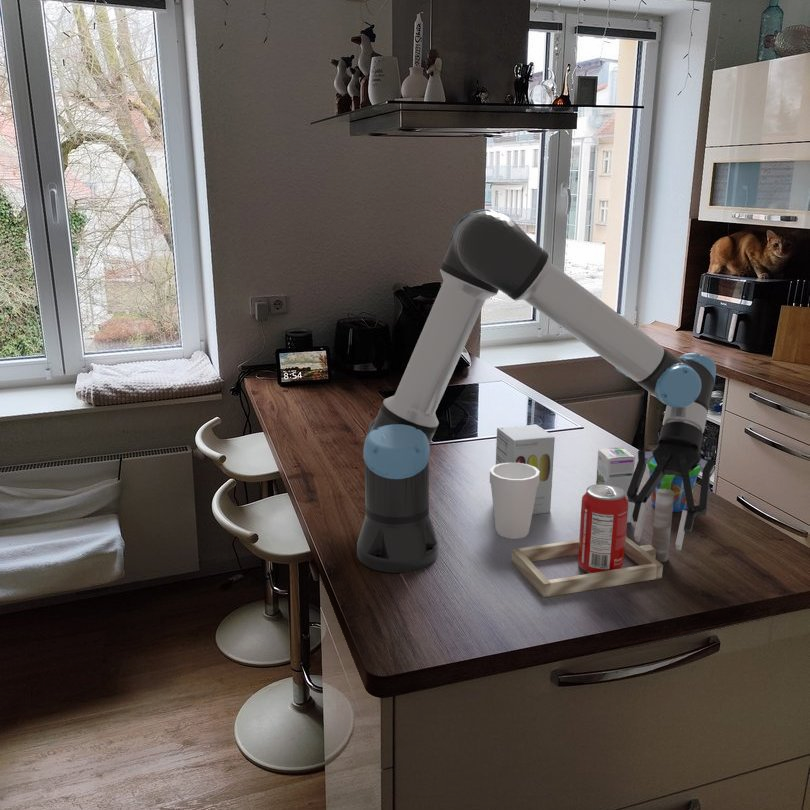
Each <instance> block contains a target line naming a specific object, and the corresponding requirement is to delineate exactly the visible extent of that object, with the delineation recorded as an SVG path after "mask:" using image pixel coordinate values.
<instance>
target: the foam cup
mask: <svg viewBox="0 0 810 810" xmlns="http://www.w3.org/2000/svg"><path fill="white" fill-rule="evenodd" d="M539 473H540V471H539V470H538V469H537V468H536V467H534V466H531V465H528V464H523V463H501V464H497V465H496V464H495V465H493V466H491V468H490V469H489V483H490V488H491V498H492V504H493V505H492V507H493V515H494V517H493V518H494V523H495V530H496V531H495V532H496V533H497V534H498V536H501V537H503V538H504V539H505V538H506V539H512V540H513V539H514V540H515V539H516V540H517V539H523V538H525V537H526V536H528V535H529V533H530V529H531V528H530V527H531V522H532V517H533V515H532V513H533V507H534V502H535V496H536V491H537V487H538V485H539Z"/></svg>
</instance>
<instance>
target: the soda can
mask: <svg viewBox="0 0 810 810" xmlns="http://www.w3.org/2000/svg"><path fill="white" fill-rule="evenodd" d="M580 508H581V509H580V523H579V537H578V538H579V539H578V540H579V553H578V555H577V556H578V557H577V564H578V566H579V568H580V569H582V570H583V571H584V572H586V573H587V574H590V573H596V572H602V571H609V570H615V569H621V568H624V563H625V540H626V536H627V528H628V527H627V525H628V523H627V516H628V500H627V498H626V497H625V492H624V490H622V489H621V488H619V487H616V486H612V485H606V484H597V485H596V484H592V485H590V486H588V487H587V488H586V492H585V493H584V494H583V495H582V497H581V504H580Z"/></svg>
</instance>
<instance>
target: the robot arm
mask: <svg viewBox="0 0 810 810" xmlns="http://www.w3.org/2000/svg"><path fill="white" fill-rule="evenodd" d="M450 237H451V238H450V244H449V246H448V249H447V251H446V254H445V255H444V259H443V261H442V264H441V266H440V268H439V272H440V275H441V277H442V281H443V282H442V283H441V287H440V288H439V291H438V293H437V296H436V298H435V301H434V302H433V304H432V307H431V310H430V311H429V314H428V316H427V318H426V321H425V323H424V326H423V328H422V331H421V332H420V335H419V338H418V339H417V342H416V344H415V347H414V349H413V351H412V353H411V356H410V358H409V361H408V363H407V366H406V368H405V370H404V373H403V375H402V377H401V380H400V382H399V384H398V386H397V389H396V391H395V393H394V395H392V396H389V397H387V398H384V399H383V401H382V404H381V406H380V409H379V411H378V414H377V415H376V417H375V418H374V419H373V421H372V422H371V423H370V424H369V428H368V429H367V434H366V437H365V440H364V444H363V445H364V446H363V450H362V456H363V461H364V462H363V463H364V501H365V503H364V504H365V516H364V520H363V523H362V526H361V529H360V532H359V535H358V539H357V542H356V556H357V559H358V561H359V562H360V563H361V564H362V565H364V566H365V567H366V568H368V569H372V570H374V571H378V572H383V573H391V574H401V573H409V572H413V571H419V570H421V569H424V568H427V567H429V566H430V565H432V564H434V562H435V561H436V560H437V559H438V557H439V541H438V537H437V534H436V532H435V528H434V526H433V522H432V520H431V517H430V458H431V448H430V444H431V442H432V440H433V437H434V435H435V433H436V431H437V428H438V426H439V424H440V422H439V420H438V418H437V415H436V411H437V409H438V407H439V404H440V402H441V400H442V398H443V397H444V394H445V391H446V389H447V387H448V384H449V382H450V380H451V378H452V377H453V374H454V371H455V369H456V366H457V365H458V362H459V361H460V358H461V356H462V353H463V352H464V349H465V346H466V345H467V342H468V341H469V338H470V335H471V333H472V331H473V328H474V326H475V324H476V323H477V319H478V317H479V316H480V313H481V311H482V308H483V306H484V304H485V302H486V300H488V299H490V298H492V297H495V296H496V295H498V293H499V291H501V292H502V293H503V294H505V295H506V296H507V297H509V298H510V299H512V300H513V301H521V300H522V301H525V302H526V303H528V304H529V305H530V306H532V307H533V308H535V310H537V311H538V312H540V313H541V314H542V315H544V316H546V318H548V319H549V320H551V321H552V322H553V323H555V324H557V326H559V327H561V328H562V329H563V330H564V331H566V333H569V334H570V335H571V336H573V337H574V338H575V339H577V340H578V341H580V342H581V343H582V344H584V345H585V346H586V347H588V348H589V349H590V350H592V351H593V352H594V353H596V354H597V355H599V356H600V357H601V358H602V359H604V360H605V361H606V362H608V363H609V364H611V365H612V366H613V367H615V370H616V371H617V372H619V373H621V374H623V375H624V376H625V377H627V378H630V379H632V380H633V381H634V382H635V383H636V384H638V386H641V387H642V388H643V389H644V390H646V391H647V392H648V393H650V394H652V395H653V396H654V397H656V399H657V400H658V401H659V402H661V403H662V404H664V405H666V406H665V411H664V415H663V421H662V426H661V427H660V433H659V437H658V441H657V443H656V444H657V445H656V447H655V448H654V449H653V450H651V451H645V450H644V449H639V450H638V451H637V457H638V458H637V463H636V466H635V468H634V474H633V477H632V480H631V483H630V485H629V488H628V491H627V497H628V500H629V501H630V502H632V504H634V507H633V512H632V514H631V518H632V520H633V522H635V523H636V524H635V528H634V532H633V538H634V541H635V542H638V543H640V542H641V539H642V538H641V537H642V533H643V529H644V524H645V520H646V516H647V512H648V507H647V502H648V500H649V498H650V497H651V494H652V492H653V491H654V489H655V488H656V486H657V485H658V483H659V482H660V480H661V479H663V477H664V476H665V475H675V476H677V477H682V479H683V485H684V491H685V497H686V503H687V509H686V511H685V510H683V511H681V517H680V521H679V525H678V531H677V534H676V540H675V549H676V550H677V551H682V546H683V541H684V537H685V533H689V534H690V533H691V532H692V531H693V525H694V522H695V518H696V516H706V515H707V513H708V502H709V493H710V492H709V491H710V482H711V476H712V475H713V473H714V472H715V462H714V460H712V459H711V460H705V459H703V458H701V455H700V452H701V449H702V448H701V447H702V443H703V438H704V432H705V429H706V428H705V427H706V424H707V420H708V419H707V418H708V413H709V408H710V403H711V400H712V396H713V390H714V388H715V385H716V377H717V376H716V375H717V366H716V363H715V361H714V360H713V359H712V358H710V357H709V356H707V355H705V354H699V353H696V352H688V353H683V354H682V355H680V356H676V355H674V354H673V353H671V352H670V351H669V350H667V349H665V348H664V346H662V345H661V344H659V343H658V342H657V341H655V340H654V339H653V338H651V337H650V336H648V335H647V334H646V333H645V332H644V331H642V330H641V329H640V328H638V327H637V326H635V325H634V324H633V323H631V322H630V321H629V320H627V319H626V318H625V317H623V316H622V315H621V314H619V312H617V311H615V310H614V309H613V308H612V307H610V306H609V305H608V304H606V303H604V301H602V300H601V299H600V298H598V297H597V296H595V295H594V294H593V293H592V292H590V291H589V290H588V289H586V288H585V287H584V286H583V285H582V284H580V283H578V282H577V281H575V280H574V279H573V278H572V277H570V276H569V275H568V274H567V273H566V272H564V271H562V270H561V269H560V268H558V267H557V266H556V265H555V264H554V263H552V258H551V254H550V253H549V252H548V251H546V250H545V249H544V248H542V247H541V246H540V245H538V244H537V243H536V241H534V240H533V239H532V238H531V237H530V236H529V235H528V234H527V233H526V232H525V231H524V230H523V228H521V227H520V226H519V225H518V223H517V222H516V221H514V220H513V219H512V218H511V217H509V216H508V215H505V214H502V213H500V212H499V211H494V210H492V209H477V210H474V211H471V212H469V213H467V214H465V216H462V218H461V219H460V220H458V221H457V223H456V224H455V226H454V228H453V229H452V232H451V235H450ZM652 458H654V459H655V461H656V463H657V466H656V467H655V470H654V472H653V473H652V475H651V476H650V475H649V478H648V479H647V481H646V482H645V484H644V485H643V487H642V488H641V490H640V491H639V489H640V486H641V483H642V481H643V477H644V475H645V472H646V469H647V465H648V463H649V462H650V460H651V459H652ZM698 465H699V466H700V470H701V471H700V473H701V483H700V493H699V494H700V495H699V503H698V504H697V505H695V500H694V496H693V495H694V494H693V495H692V489H691V483H690V478H689V473H690V472H691V471H692V470H693V469H695V468H696V467H697V466H698Z"/></svg>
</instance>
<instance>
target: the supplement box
mask: <svg viewBox="0 0 810 810" xmlns="http://www.w3.org/2000/svg"><path fill="white" fill-rule="evenodd" d="M555 439H556V438H555V436H554V435H553V434H551V433H549V432H548V431H547V430H545V429H544V428H542V427H541V426H539V425H538V424H529V425H528V424H527V425H517V426H505V427H501V426H500V427H499V426H498V427H497V428H496V444H495V446H496V447H495V465H497V464H501V463H523V464H528V465H531V466H534V467H536V468H537V469H538V470H539V471H540V473H539V485H538V487H537V491H536V496H535V502H534V507H533V513H532V516H533V515H540V514H548V513H551V508H552V507H551V506H552V505H551V504H552V488H553V471H554V458H555V457H554V456H555V441H556V440H555Z"/></svg>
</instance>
